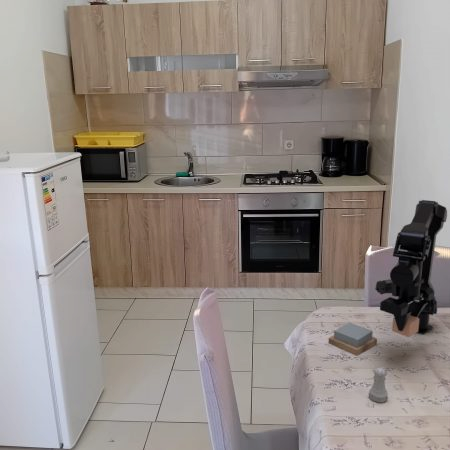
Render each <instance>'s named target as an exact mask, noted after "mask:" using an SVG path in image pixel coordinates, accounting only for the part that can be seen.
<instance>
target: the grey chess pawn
mask: <svg viewBox="0 0 450 450" xmlns="http://www.w3.org/2000/svg"><path fill="white" fill-rule="evenodd" d="M372 372H373V374H374V375H373V379H374V381H373V385H372V386H371V388H369V393H368V396H369V398H370V400H371V401H373V402H375V403H381V404H383V403H385V402H387V400H388V398H389V397H388V396H389V392H388V391H387V389H386V383H385V381H386V379H387V378H386V377H385V376H387V375H388V372H387V369H386V368H385V367H384V366H380V365H377V366H375V367H374V369H373V370H372Z"/></svg>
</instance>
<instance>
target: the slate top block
mask: <svg viewBox="0 0 450 450" xmlns="http://www.w3.org/2000/svg"><path fill="white" fill-rule="evenodd" d="M333 335H334V339H337V340H339V341H342V342H344V343H346V344H349V345H351V346H354V347H356V348H358V347H360V346H361V345H363V344H364V343H366V342H367V341H369V340H371V339H372V337H373V330H372V329H369V328H366V327H363V326H361V325H357V324H355V323H352V322H350V321H349V322H347V323H345V324H344V325H342V326H340V327H338V328H336V329H335V330H334V332H333Z"/></svg>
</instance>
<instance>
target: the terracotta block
mask: <svg viewBox="0 0 450 450" xmlns="http://www.w3.org/2000/svg"><path fill="white" fill-rule="evenodd" d="M391 327H392V328H391V332H394V333H396V334H399V335H402V336H405V337H407V338H410V337H412V336H413V335H416V334H417V333H419V332H418V328H419V318H417V317H414V316H411V315H410V316H409V318H408V320H407V323H406V325H405V327H404V329H403V331H399V330H398V328H397V324H396V321H395V318H394V317H392V326H391Z"/></svg>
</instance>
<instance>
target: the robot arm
mask: <svg viewBox="0 0 450 450" xmlns="http://www.w3.org/2000/svg"><path fill="white" fill-rule="evenodd" d="M414 210H415V211H414V216H413V217H412V220H411V222H410V223H408V224H405V225H404V226H403V227H402V228H401V229H400V232H398V233H397V236H396V240H395V244H394V248H393V253H392V257H394V258H398V260H397V261H398V262H397V263H396V264H395V265H394V267H393V268H392V269H391V270H390V273H389V276H390V277H389V278H390V279H383V280H377V281H376V284H375V291H376V292H377V293H379V295H384V294H385V295H386V294H391V296H392V297H391V296H389V297H387V298H386V299H383V300H382V301H380V303H379V310H380V311H382V312H384V313H388V314H390V315H393V318H395V321H396V324H397V328H398V330H399V331H403V329H404V327H405V325H406V323H407V320H408V318H409V316H410V315H411V316H414V317H417V318H419V328H418V332H417V333H418V334H419V333H420V334H422V335H424V334H426V333H428V332H429V331H430V330H432V329H433V328H434V327H433V326H432V325H431V324H429V322H430V316H434V315H436V314H438V301H437V297H436V296H435V289H434V286H433V285H432V282H431V278H432V277H431V276H432V270H433V262H434V255H435V249H436V240H437V235H438V234H439V233H440V232H441V230H442V229H443V227H444V224H445V223H446V222H447V218H448V209H447V207H445V206H444V205H442V204H439V202H438V201H435V200H425V199H422V200H419V201H418V203H417V204H416V205H415V209H414ZM396 297H397V298H396Z"/></svg>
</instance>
